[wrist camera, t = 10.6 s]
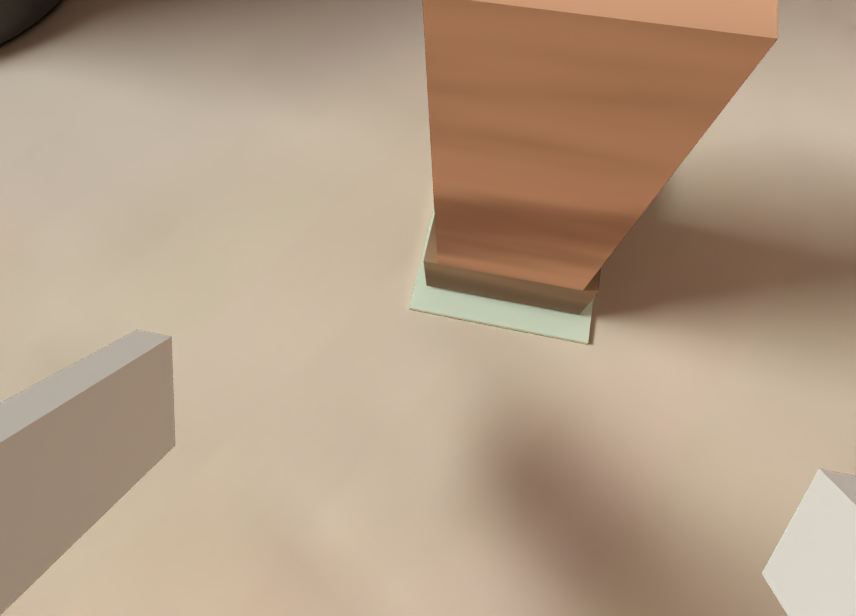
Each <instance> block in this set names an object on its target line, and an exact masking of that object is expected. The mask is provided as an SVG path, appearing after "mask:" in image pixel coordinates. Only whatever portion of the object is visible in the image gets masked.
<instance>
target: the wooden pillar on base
mask: <svg viewBox="0 0 856 616" xmlns="http://www.w3.org/2000/svg"><path fill="white" fill-rule="evenodd" d="M422 1H423V18H424V36H425V54H426V71H427V89H428V106H429V124H430V142H431V159H432V177H433V194H434V212H435V215H434V219H433V223H432V227H431V232H430V236H429V240H428V244H427V248H426V252H425V257H424V261H423V262H424V270H425V278H426V286H431V287H436V288H441V289H447V290H452V291H457V292H462V293H468V294H473V295H478V296H483V297H489V298H494V299H499V300H504V301H510V302H515V303H520V304H526V305H531V306H536V307H541V308H547V309H552V310H557V311H562V312H568V313H573V314H578V315H579V314H580V313H581V312H582V311H583V310H584V309H585V308H586V306H587V305H588V304H589V303H590V302H591V301H592V300H593V298H594V297H595V296H596V295H597V294H598V288H599V280H600V271H601V266H602V265H603V264H604V263H605V261H606V260H607V259H608V257H609V256H610V255H611V254H612V252H613V251H614V250H615V248H616V247H617V246H618V245H619V243H620V242H621V241H622V239H623V238H624V237H625V235H626V234H627V233H628V232H629V230H630V229H631V228H632V226H633V225H634V224H635V223H636V221H637V220H638V219H639V217H640V216H641V215H642V213H643V212H644V211H645V210H646V208H647V207H648V206H649V204H650V203H651V202H652V201H653V199H654V198H655V197H656V195H657V194H658V193H659V192H660V190H661V189H662V188H663V186H664V185H665V184H666V182H667V181H668V180H669V179H670V177H671V176H672V175H673V173H674V172H675V171H676V170H677V168H678V167H679V166H680V164H681V163H682V162H683V160H684V159H685V158H686V157H687V155H688V154H689V153H690V151H691V150H692V149H693V148H694V146H695V145H696V144H697V142H698V141H699V140H700V139H701V137H702V136H703V135H704V133H705V132H706V131H707V129H708V128H709V127H710V126H711V124H712V123H713V122H714V120H715V119H716V118H717V117H718V115H719V114H720V113H721V111H722V110H723V109H724V107H725V106H726V105H727V104H728V102H729V101H730V100H731V98H732V97H733V96H734V95H735V93H736V92H737V91H738V89H739V88H740V87H741V86H742V84H743V83H744V82H745V80H746V79H747V78H748V76H749V75H750V74H751V73H752V71H753V70H754V69H755V67H756V66H757V65H758V64H759V62H760V61H761V60H762V58H763V57H764V56H765V54H766V53H767V52H768V51H769V49H770V48H771V47H772V45H773V44H774V43H775V42H776V40H777V39H778V0H422Z"/></svg>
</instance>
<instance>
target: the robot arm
mask: <svg viewBox="0 0 856 616" xmlns="http://www.w3.org/2000/svg"><path fill="white" fill-rule="evenodd" d="M59 1H60V0H0V44H1V43H3V42H5V41H7V40H9V39H11V38H12V37H14V36H16V35H18V34H19V33H21V32H22V31H24V30H25V29H27V28H28V27H30V26H31V25H33V24H34V23H35V22H37V21H38V20H39V19H41V18H42V17H43V16H44V15H45V14H47V13H48V12H49V11H50V10H51V9H52V8H53V7H54V6H55V5H56V4H57V3H58V2H59ZM174 446H175V421H174V393H173V364H172V337H171V336H166V335H161V334H156V333H151V332H146V331H142V330H135V331H133V332H132V333H130V334H128V335H126V336H124V337H122V338H120V339H119V340H117V341H115V342H113V343H111V344H109V345H107V346H106V347H104V348H102V349H100V350H98V351H96V352H94V353H93V354H91V355H89V356H87V357H85V358H83V359H81V360H80V361H78V362H76V363H74V364H72V365H70V366H68V367H67V368H65V369H63V370H61V371H59V372H57V373H55V374H54V375H52V376H50V377H48V378H46V379H44V380H42V381H41V382H39V383H37V384H35V385H33V386H31V387H29V388H28V389H26V390H24V391H22V392H20V393H18V394H16V395H15V396H13V397H11V398H9V399H7V400H5V401H3V402H2V403H0V615H1V614H2V613H3V612H4V611H5V610H6V609H7V608H8V607H9V606H10V605H11V604H12V603H13V602H14V601H15V600H16V599H17V598H18V597H20V596H21V595H22V594H23V593H24V592H25V591H26V590H27V589H28V588H29V587H30V586H31V585H32V584H33V583H34V582H35V581H36V580H37V579H38V578H39V577H40V576H41V575H42V574H43V573H44V572H45V571H46V570H47V569H48V568H49V567H50V566H51V565H52V564H54V563H55V562H56V561H57V560H58V559H59V558H60V557H61V556H62V555H63V554H64V553H65V552H66V551H67V550H68V549H69V548H70V547H71V546H72V545H73V544H74V543H75V542H76V541H77V540H78V539H79V538H80V537H81V536H82V535H83V534H84V533H85V532H86V531H88V530H89V529H90V528H91V527H92V526H93V525H94V524H95V523H96V522H97V521H98V520H99V519H100V518H101V517H102V516H103V515H104V514H105V513H106V512H107V511H108V510H109V509H110V508H111V507H112V506H113V505H114V504H115V503H116V502H117V501H118V500H119V499H121V498H122V497H123V496H124V495H125V494H126V493H127V492H128V491H129V490H130V489H131V488H132V487H133V486H134V485H135V484H136V483H137V482H138V481H139V480H140V479H141V478H142V477H143V476H144V475H145V474H146V473H147V472H148V471H149V470H150V469H151V468H152V467H153V466H155V465H156V464H157V463H158V462H159V461H160V460H161V459H162V458H163V457H164V456H165V455H166V454H167V453H168V452H169V451H170V450H171V449H172V448H173V447H174ZM762 575H763V576H764V578H765V580H766V581H767V583H768V584H769V586H770V588H771V589H772V591H773V592H774V594H775V596H776V597H777V599H778V600H779V602H780V604H781V605H782V607H783V608H784V610H785V612H786V613H787V615H788V616H856V476H853V475H848V474H844V473H839V472H834V471H829V470H824V469H819V470H818V472H817V474H816V476H815V477H814V479H813V481H812V483H811V485H810V486H809V488H808V490H807V492H806V494H805V496H804V497H803V499H802V501H801V503H800V505H799V506H798V508H797V510H796V512H795V514H794V516H793V517H792V519H791V521H790V523H789V525H788V527H787V528H786V530H785V532H784V534H783V536H782V537H781V539H780V541H779V543H778V545H777V547H776V548H775V550H774V552H773V554H772V556H771V558H770V559H769V561H768V563H767V565H766V567H765V568H764V570H763V572H762Z"/></svg>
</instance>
